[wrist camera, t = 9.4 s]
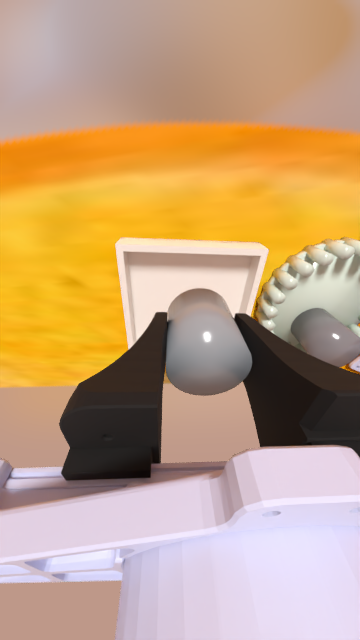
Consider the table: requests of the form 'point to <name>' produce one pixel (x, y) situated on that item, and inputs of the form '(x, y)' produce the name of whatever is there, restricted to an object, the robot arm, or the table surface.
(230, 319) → the pebble slate
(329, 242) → the celadon bowl
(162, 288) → the parts tray
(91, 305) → the table surface
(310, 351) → the pebble charcoal
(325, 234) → the table surface
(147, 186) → the table surface
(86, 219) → the table surface
